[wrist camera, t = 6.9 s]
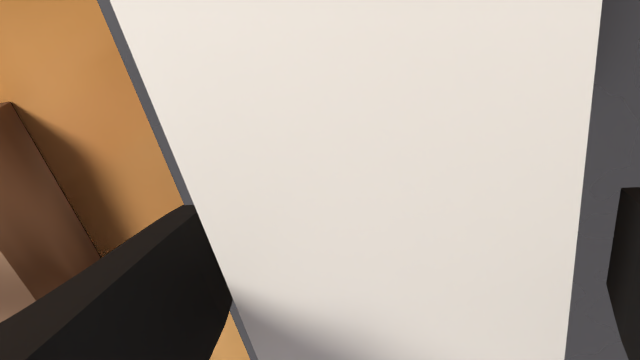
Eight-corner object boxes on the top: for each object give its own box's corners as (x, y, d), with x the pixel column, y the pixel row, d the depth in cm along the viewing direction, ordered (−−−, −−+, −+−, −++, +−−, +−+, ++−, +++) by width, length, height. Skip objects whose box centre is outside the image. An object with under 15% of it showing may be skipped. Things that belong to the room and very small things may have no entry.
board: (528, 429, 12) (544, 544, 10) (338, 411, 13) (319, 507, 11) (566, -340, 5) (654, -488, 3) (153, -203, 6) (13, -233, 4)
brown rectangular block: (152, 347, 21) (114, 410, 19) (98, 343, 22) (54, 403, 20) (10, 101, 15) (-74, 147, 13) (-58, 110, 16) (-149, 155, 13)
